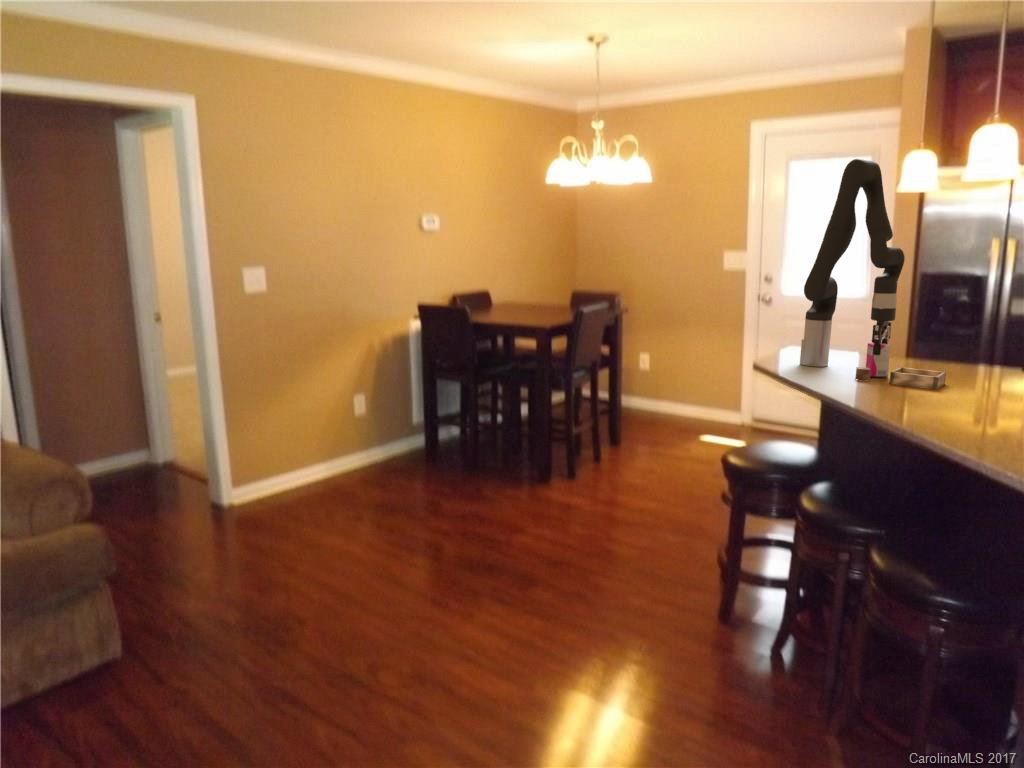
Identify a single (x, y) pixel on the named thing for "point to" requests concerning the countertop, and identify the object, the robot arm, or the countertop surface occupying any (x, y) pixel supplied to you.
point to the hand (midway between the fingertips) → (880, 353)
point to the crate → (917, 378)
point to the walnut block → (862, 373)
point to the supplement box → (878, 361)
